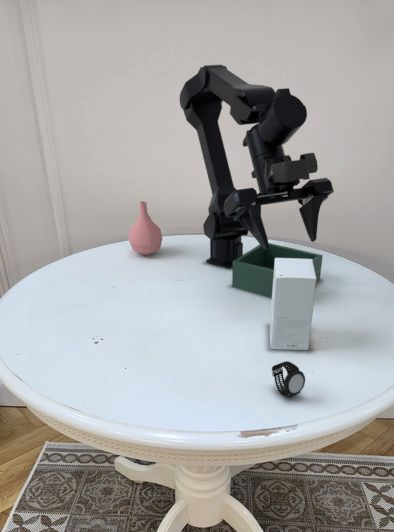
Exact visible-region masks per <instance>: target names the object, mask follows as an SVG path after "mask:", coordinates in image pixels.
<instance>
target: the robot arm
mask: <svg viewBox="0 0 394 532" xmlns="http://www.w3.org/2000/svg"><path fill="white" fill-rule="evenodd" d="M223 102H224V103H225V104H227V105H228V106H229V115H230V116H231V117H232V119H233V120H234V121H235V123H236V124H237V125H239V126H246V125H252V126H251V127H250V129H248V130H246V132H245V136H244V138H243V140H242V147H243V148H244V147H247V148H248V152H249V155H250V159H251V163H252V168H253V170H252V171H251V173H250V175H251V178H252V179H255V180H256V183H257V187H258V191H259V192H257V190H256V189H255V188H254V187H247V188H241V189H240V188H239V189H237V188H236V187H235V185H234V180H233V178H232V177H233V176H232V172H231V168H230V164H229V160H228V157H227V153H226V149H225V144H224V140H223V136H222V132H221V129H220V125H219V119H220V117H221V113H222V110H223ZM179 106H180V108H181V110H182V111H183V114H184V116H185V120H186V122H187V123H188V124H189V125H190V126H191V127H192V128H193V129H195V131H196V133H197V138H198V141H199V145H200V150H201V153H202V158H203V162H204V166H205V171H206V174H207V178H208V179H207V180H208V182H209V186H210V190H211V199H210V202H209V205H208V215H207V217H206V219H205V220H204V222H203V223H202V226H203V227H202V228H203V234H204V235H205V237H207V238H208V239H209V258H207V259H206V260H205V262H206V264H211V265H215V266H218V267H222V268H225V269H233V261H234V260H236V259H237V258H239V257H240V256H242V255H244V254H243V253H244V242H242V237H243V236H245V237H246V236H248V235H249V233H250V234H251V235H252V236H253V238H254V239H255V240H256V241H257V242H258V245H261V246H262V247H263V248H264V250H267V249H269V244H268V243H269V239H268V236H267V232H266V229H265V225H264V221H263V219H262V206H264V205H265V206H266V205H272V204H279V203H287V202H293V201H297V203H298V204H300V205H301V206H300V207H299V208H298V210H299V214H300V216H301V219H302V222H303V225H304V227H305V230H306V233H307V235H308V237H309V240H310V242H312V243H314V242H315V241H316V240H317V235H318V224H319V215H320V210H321V206H322V204H323V203H324V202H325V201H327V199H328V198H329V196H330V195H332V194H333V193H334V192H335V191H334V186H333V183H332V181H331V179H329V178H328V177H322V178H314V179H310V174H314V173H317V171H318V170H319V168H318V165H319V164H318V160H317V157H316V153H315V152H307V153H303V154H300V155H299V159H295V160H294V159H293V160H292V157H291V156H290V154H285V150H284V146H283V145H286V144H287V143H288V142H289V141H290V140H291V139H292V137H293V136H294V135H295V134H296V133H297V132H298V130H300V129H301V127H302V126H303V125H304V124H305V122H306V121H307V118H308V110H307V107H306V104H305V105H304V103H303V102H302V100H301V99H300V98H299V97H297V96H295V95H293V94H291V90H290V88H289V87H285V88H278V89H276V91H275V89H274V88H273V87H272V86H268V85H262V84H253V83H248V82H246V81H245V80H243V79H242V78H241V77H239V76H238V75H237V74H234V73H233V72H232V71H230V70H228V68H227V66H226V65H223V64H205V65H203V66H200V67H199V70H198V72H197V73H196V74H194V75H193V76H192V77H191V78H189V79H187V81H185V83H184V85H183V86H182V88H181V91H180V93H179ZM301 180H303V181H306V180H307V182H306V183H304V184H303V185H302V186H300V187H298V188H294V187H295V186H296V187H297V186H298V185H300V183H301Z"/></svg>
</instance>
